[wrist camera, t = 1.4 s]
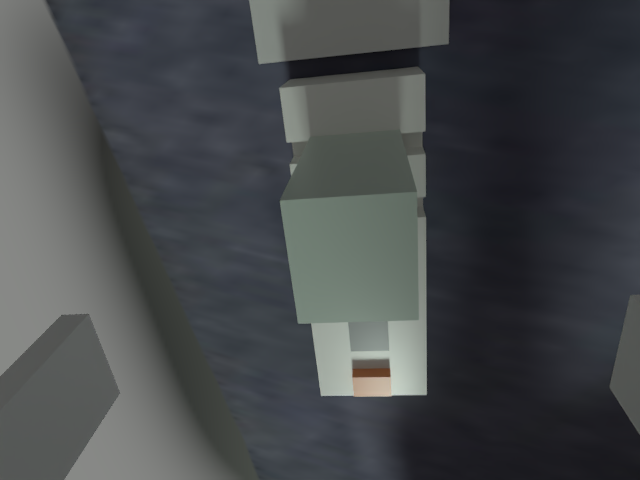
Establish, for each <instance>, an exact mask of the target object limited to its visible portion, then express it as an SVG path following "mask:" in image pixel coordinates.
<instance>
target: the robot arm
mask: <svg viewBox="0 0 640 480" xmlns="http://www.w3.org/2000/svg"><path fill="white" fill-rule="evenodd" d="M609 388H610V389H611V391H612V392H613V394H614V396H615V397H616V399H617V400H618V402H619V403H620V405H621V407H622V408H623V410H624V411H625V413H626V414H627V416H628V417H629V419H630V421H631V422H632V424H633V425H634V427H635V428H636V430H637V431H638V433H639V435H640V295H630V299H629V303H628V308H627V312H626V316H625V321H624V325H623V330H622V334H621V338H620V343H619V347H618V351H617V356H616V360H615V364H614V369H613V373H612V378H611V382H610V386H609ZM119 394H120V392H119V389H118V387H117V384H116V382H115V379H114V377H113V374H112V371H111V369H110V366H109V364H108V361H107V359H106V357H105V354H104V351H103V349H102V346H101V344H100V341H99V339H98V336H97V334H96V331H95V329H94V326H93V323H92V321H91V318H90V316H89V314H75V315H61V317H59V318H58V319H57V320H56V321H55V322H54V323H53V324H52V325H51V326H50V327H49V328H48V329H47V330H46V331H45V332H44V333H43V334H42V335H41V336H40V337H39V338H38V339H37V340H36V341H35V342H34V343H33V344H32V345H31V346H30V347H29V348H28V349H27V350H26V351H25V353H23V354H22V355H21V356H20V357H19V358H18V359H17V360H16V361H15V362H14V363H13V364H12V365H11V366H10V367H9V369H7V370H6V371H5V372H4V373H3V374H2V375H1V376H0V480H64V479H65V477H66V476H67V474H68V473H69V471H70V470H71V468H72V467H73V465H74V463H75V462H76V460H77V459H78V457H79V456H80V454H81V453H82V451H83V450H84V448H85V446H86V445H87V443H88V442H89V440H90V439H91V437H92V436H93V434H94V432H95V431H96V429H97V428H98V426H99V425H100V423H101V421H102V420H103V419H104V417H105V415H106V414H107V412H108V411H109V409H110V407H111V406H112V404H113V403H114V401H115V400H116V398H117V397H118V395H119Z"/></svg>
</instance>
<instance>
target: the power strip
mask: <svg viewBox="0 0 640 480" xmlns="http://www.w3.org/2000/svg"><path fill="white" fill-rule="evenodd" d="M279 90H280V97H281V105H282V112H283V119H284V127H285V134H286V141H287V143H289V142H292V147H293V154H294V157H293V159H292V161H291V163H290V171H291V176H292V174H293V172H294V170H295V168H296V166H297V163H298V161H299V159H300V157H301V155H302V153H303V151H304V149H305V147H306V145H307V143H308V141H309V138H310V137H315V136H327V135H339V134H351V133H363V132H375V131H388V130H400V132H401V135H402V139H403V143H404V146H405V150H406V153H407V157H408V161H409V164H410V168H411V171H412V175H413V179H414V182H415V186H416V189H417V216H418V291H419V320H408V321H374V322H339V323H311V325H312V333H313V340H314V347H315V355H316V362H317V369H318V377H319V384H320V391H321V396H354V397H366V396H392V395H427V329H426V215H425V212H424V208H423V197H426V154H425V151H424V149H423V143H422V132H425V131H426V117H425V73H424V72H423V71H422V70H421V69H420V68H419V67H409V68H399V69H389V70H378V71H368V72H358V73H348V74H338V75H328V76H318V77H308V78H298V79H290V80H289V81H287V82H286V83H285V84H284V85H282V86H281V87H280V88H279Z"/></svg>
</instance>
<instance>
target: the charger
mask: <svg viewBox="0 0 640 480" xmlns="http://www.w3.org/2000/svg"><path fill="white" fill-rule="evenodd" d="M280 206H281V213H282V219H283V226H284V233H285V239H286V246H287V253H288V259H289V266H290V273H291V279H292V286H293V292H294V299H295V306H296V312H297V319H298V324H304V323H339V322H374V321H408V320H419V291H418V216H417V189H416V186H415V182H414V179H413V175H412V171H411V168H410V164H409V161H408V157H407V153H406V150H405V146H404V143H403V139H402V135H401V132H400V130H388V131H375V132H363V133H351V134H339V135H327V136H315V137H310V138H309V141H308V143H307V145H306V147H305V149H304V151H303V153H302V155H301V157H300V159H299V161H298V163H297V166H296V168H295V170H294V172H293V174H292V176H291V178H290V180H289V182H288V184H287V186H286V188H285V191H284V193H283V195H282V197H281V199H280Z"/></svg>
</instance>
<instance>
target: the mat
mask: <svg viewBox="0 0 640 480" xmlns="http://www.w3.org/2000/svg"><path fill="white" fill-rule="evenodd" d="M249 2H250V9H251V16H252V22H253V29H254V35H255V42H256V49H257V55H258V62H259V64H263V63H273V62H282V61H292V60H301V59H311V58H321V57H330V56H340V55H349V54H359V53H368V52H378V51H387V50H397V49H406V48H416V47H425V46H435V45H445V44H449V0H249Z"/></svg>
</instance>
